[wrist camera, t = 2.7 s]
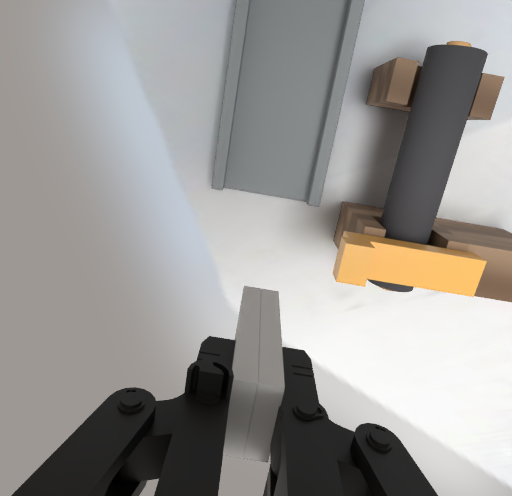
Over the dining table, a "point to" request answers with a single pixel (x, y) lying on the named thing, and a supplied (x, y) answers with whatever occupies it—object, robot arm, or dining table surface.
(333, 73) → the grey open channel
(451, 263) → the notched orange block
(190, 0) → the dining table surface
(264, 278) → the dining table surface
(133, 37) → the dining table surface
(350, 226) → the notched wooden block
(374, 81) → the rest
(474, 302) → the dining table surface
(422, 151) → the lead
